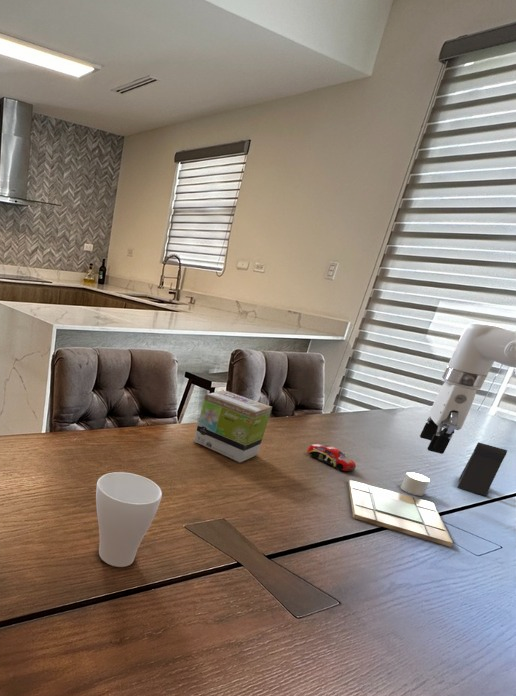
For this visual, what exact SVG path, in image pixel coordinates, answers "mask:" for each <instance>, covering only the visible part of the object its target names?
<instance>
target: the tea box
mask: <svg viewBox="0 0 516 696" xmlns="http://www.w3.org/2000/svg"><path fill="white" fill-rule="evenodd" d="M272 410H273V406H271V405H268V404H265V403H262V402H259V401H256V400H254V399H251V398H248V397H246V396H243V395H239V394H236V393H234V392H231V391H229V390H225V389H222V390H218V391H215V392H210V393H205V395H204V399H203V402H202V406H201V411H200V414H199V417H198V423H197V426H196V430H195V435H194V439H193V443H195V444H199V445H201V446H203V447H206V448H207V449H209V450H212V451H213V452H216V453H218V454H220V455H223V456H225V457H227V458H229V459H231V460H233V461H235V462H237V463H239V464H240V463H243V462H244V461H247V460H250V459H251V458H254V457H255V456H257V455H258V453H259V451H260V447H261V445H262V441H263V439H264V436H265V431H266V429H267V426H268V423H269V418H270V416H271V413H272Z"/></svg>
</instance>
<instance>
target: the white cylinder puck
mask: <svg viewBox="0 0 516 696" xmlns="http://www.w3.org/2000/svg"><path fill="white" fill-rule="evenodd" d="M430 482H431V480H430V478H428V477H427V476H425V475H423V474H420V473H416V472H412V471H411V472H406V474H405V476H404V478H403V480H402V483H401V485H400V489H401V490H402V491H404V492H405V493H408V494H410V495H414V496H420V497H421V496H424V494H425V492H426V491H427V488H428V486H429V484H430Z"/></svg>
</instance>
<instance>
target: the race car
mask: <svg viewBox="0 0 516 696" xmlns="http://www.w3.org/2000/svg"><path fill="white" fill-rule="evenodd" d="M306 453H308V454H309V456H310V455H311V458H313V459H318V460H320V461H322V462H324V463H325V464H328V465H330V466H331V467H332V466H333V468H336V470H337V471H345V472H353V471H355V470H356V469H357V468H356V463H355V461H353V460H352V459H350V458H349V457H348V456H346V454H345V453H343V452H342V451H341V450H340V449H338V448H337V447H334V446H332V445H328V444H320V443H313V444H311V445H309V447H308V448H307V452H306Z"/></svg>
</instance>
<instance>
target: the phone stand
mask: <svg viewBox="0 0 516 696" xmlns="http://www.w3.org/2000/svg"><path fill="white" fill-rule="evenodd" d="M507 453H508V449H505V448H500V447H497V446H493V445H491V444H490V445H489V444H486V443H483V442H477V443H476V445H475V448H474V449H473V452H472V454H470V455H471V456H469V459H468V461H467V463H466V465H465V466H464V468H463V470H462V472H461V474H460V475H459V478H458V482H457V488H458V489H461V490H463V491H464V490H465V491H468V492H469V493H470V492H471V493H474V494H476V495H480V496H483V497H486V496H487V494H488V492H489V490H490V488H491V486H492V483H493V482H494V480H495V477H496V476H497V473H498V471H499V468H500V467H501V465H502V463H503V461H504V459H505V458H506V456H507Z"/></svg>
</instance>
